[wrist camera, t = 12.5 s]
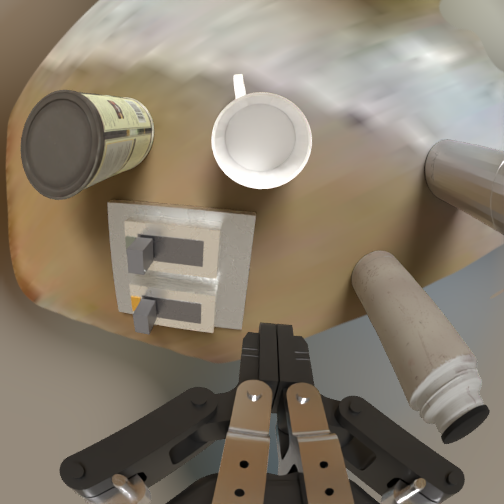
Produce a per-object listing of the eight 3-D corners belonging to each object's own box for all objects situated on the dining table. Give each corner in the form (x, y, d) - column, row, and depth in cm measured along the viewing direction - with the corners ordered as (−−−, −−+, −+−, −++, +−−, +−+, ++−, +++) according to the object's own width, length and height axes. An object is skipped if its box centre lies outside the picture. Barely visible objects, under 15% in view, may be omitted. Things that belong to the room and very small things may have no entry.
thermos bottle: (387, 298, 42) (467, 444, 17) (344, 293, 42) (411, 462, 16) (405, 254, 39) (517, 392, 13) (360, 246, 38) (467, 409, 13)
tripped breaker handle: (155, 300, 37) (147, 316, 33) (156, 318, 38) (149, 334, 35) (141, 298, 36) (132, 314, 33) (143, 315, 38) (135, 331, 34)
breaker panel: (255, 212, 37) (256, 224, 32) (241, 323, 44) (240, 343, 40) (112, 199, 36) (96, 209, 32) (122, 306, 43) (111, 323, 39)
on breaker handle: (152, 238, 33) (142, 251, 30) (153, 261, 34) (143, 275, 31) (137, 237, 33) (126, 249, 29) (138, 259, 34) (128, 272, 31)
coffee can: (78, 153, 33) (10, 173, 20) (108, 86, 29) (41, 77, 16) (134, 185, 35) (77, 219, 22) (169, 116, 31) (119, 113, 19)
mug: (301, 168, 34) (316, 183, 26) (229, 178, 35) (220, 195, 26) (288, 75, 29) (300, 58, 21) (214, 85, 30) (199, 71, 21)
